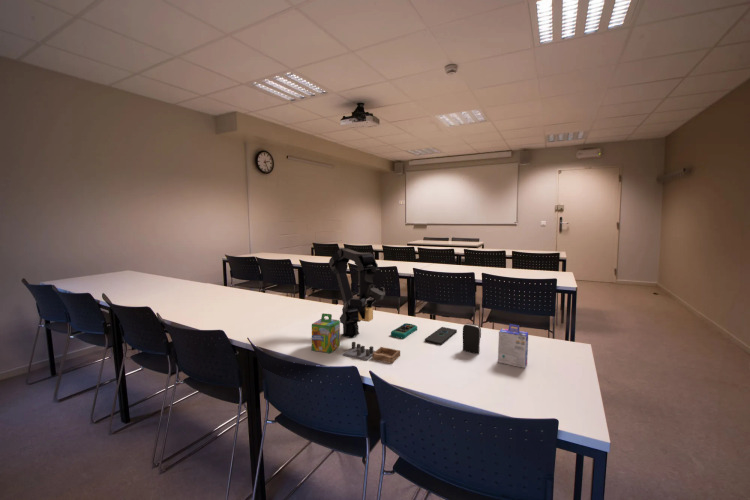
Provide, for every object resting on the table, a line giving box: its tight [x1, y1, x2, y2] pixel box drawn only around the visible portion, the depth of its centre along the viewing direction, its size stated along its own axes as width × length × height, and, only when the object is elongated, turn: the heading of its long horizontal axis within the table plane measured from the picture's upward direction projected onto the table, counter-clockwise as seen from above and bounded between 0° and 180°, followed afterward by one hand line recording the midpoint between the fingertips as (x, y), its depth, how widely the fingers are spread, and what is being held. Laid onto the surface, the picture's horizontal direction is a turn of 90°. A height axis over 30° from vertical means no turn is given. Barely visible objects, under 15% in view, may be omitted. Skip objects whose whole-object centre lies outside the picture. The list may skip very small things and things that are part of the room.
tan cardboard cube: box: [359, 307, 374, 323], centre depth 141 cm, size 5×4×5 cm
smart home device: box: [424, 326, 458, 346], centre depth 151 cm, size 8×2×20 cm
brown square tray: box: [371, 346, 401, 364], centre depth 129 cm, size 9×8×2 cm
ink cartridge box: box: [497, 323, 529, 369], centre depth 123 cm, size 10×6×14 cm, turn 58°
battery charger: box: [462, 322, 482, 355], centre depth 134 cm, size 7×4×11 cm, turn 58°
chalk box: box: [311, 313, 341, 354], centre depth 138 cm, size 9×9×15 cm
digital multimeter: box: [390, 322, 418, 339], centre depth 156 cm, size 7×15×3 cm, turn 147°
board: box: [342, 341, 376, 362], centre depth 132 cm, size 11×8×3 cm
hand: (365, 317), depth 142 cm, fingers closed on tan cardboard cube, 4 cm apart
